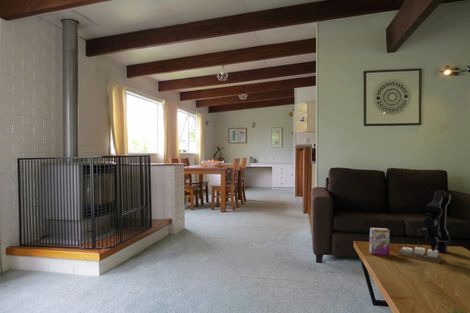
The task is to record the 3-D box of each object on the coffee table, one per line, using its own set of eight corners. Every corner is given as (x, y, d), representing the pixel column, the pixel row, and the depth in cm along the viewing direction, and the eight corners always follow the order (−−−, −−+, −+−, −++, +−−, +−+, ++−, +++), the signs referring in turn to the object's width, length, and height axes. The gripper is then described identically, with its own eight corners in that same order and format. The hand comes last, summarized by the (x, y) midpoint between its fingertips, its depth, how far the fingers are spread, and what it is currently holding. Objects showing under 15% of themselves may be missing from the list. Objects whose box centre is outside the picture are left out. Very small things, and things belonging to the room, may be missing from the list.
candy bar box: (371, 254, 195) (372, 229, 195) (369, 252, 200) (369, 227, 200) (389, 255, 194) (390, 230, 193) (386, 252, 199) (387, 228, 198)
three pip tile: (403, 251, 199) (403, 246, 199) (412, 252, 196) (412, 248, 196) (402, 253, 196) (402, 248, 196) (410, 254, 192) (410, 249, 192)
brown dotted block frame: (402, 251, 202) (402, 247, 202) (441, 259, 188) (441, 255, 188) (398, 255, 195) (398, 251, 195) (439, 263, 180) (439, 259, 180)
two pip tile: (415, 251, 195) (416, 246, 195) (425, 253, 192) (425, 248, 192) (414, 253, 191) (414, 248, 191) (423, 254, 188) (423, 249, 188)
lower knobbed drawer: (428, 253, 190) (428, 248, 190) (438, 255, 187) (438, 250, 187) (427, 255, 186) (427, 250, 186) (437, 257, 183) (437, 252, 183)
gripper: (421, 220, 199) (420, 244, 199) (415, 225, 185) (415, 251, 185) (441, 223, 192) (440, 248, 192) (437, 229, 177) (436, 255, 178)
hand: (432, 250), depth 187 cm, fingers closed
